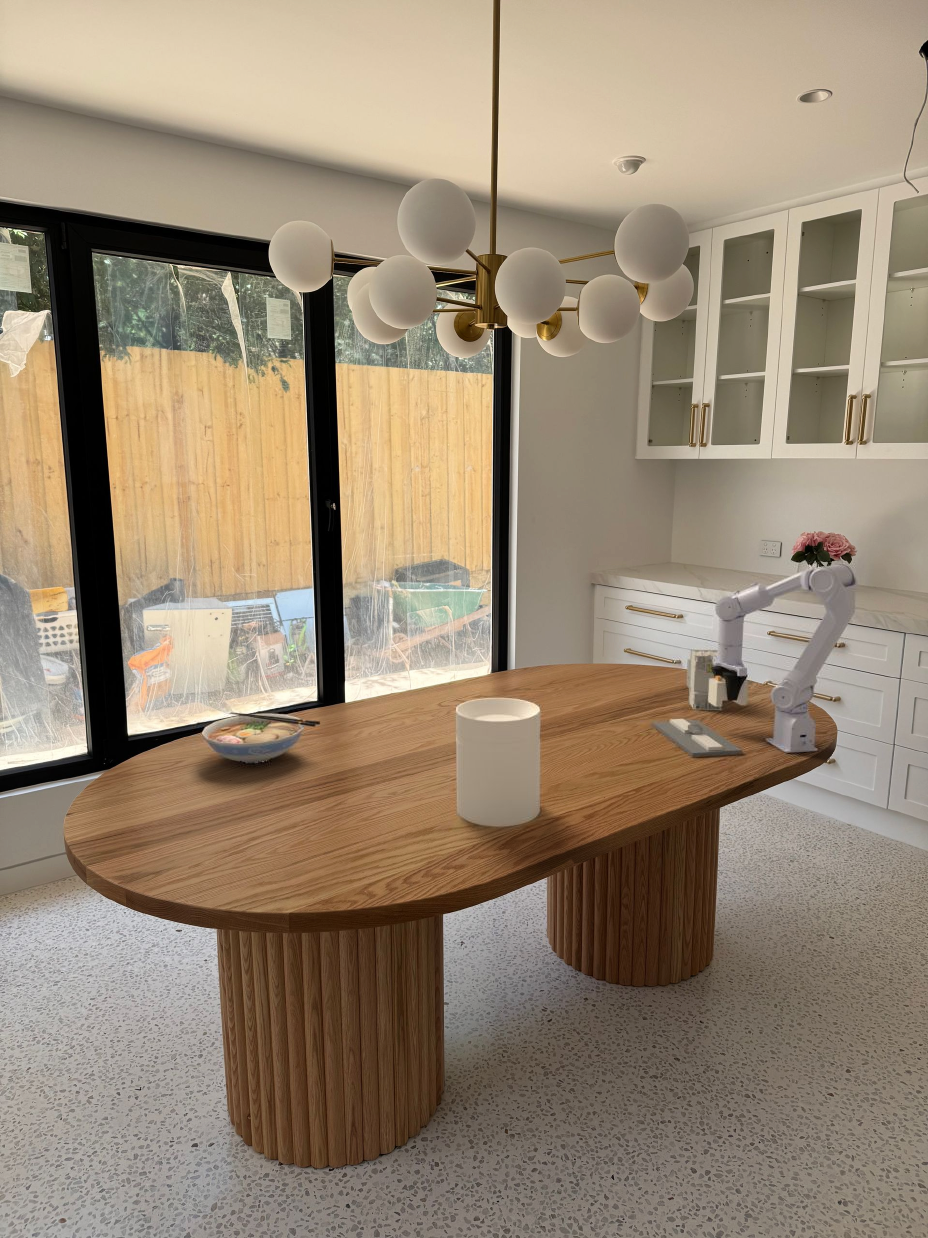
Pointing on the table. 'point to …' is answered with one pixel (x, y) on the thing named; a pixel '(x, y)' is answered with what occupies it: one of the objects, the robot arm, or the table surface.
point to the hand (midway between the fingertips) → (727, 697)
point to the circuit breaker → (700, 678)
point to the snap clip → (695, 728)
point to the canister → (498, 761)
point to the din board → (696, 739)
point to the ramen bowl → (255, 736)
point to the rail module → (724, 692)
